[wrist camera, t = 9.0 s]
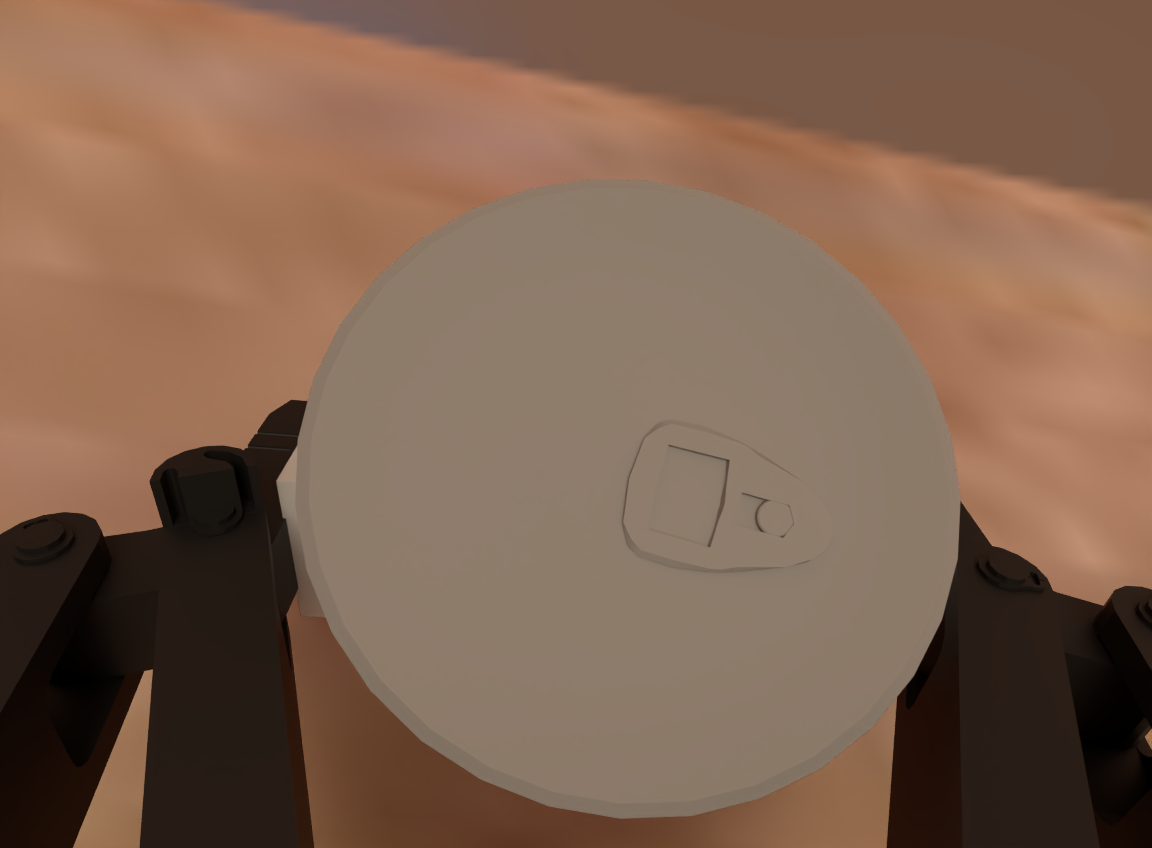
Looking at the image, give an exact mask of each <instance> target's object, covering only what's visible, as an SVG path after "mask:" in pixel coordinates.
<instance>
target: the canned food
mask: <svg viewBox="0 0 1152 848" xmlns="http://www.w3.org/2000/svg"><path fill="white" fill-rule="evenodd" d="M960 499H961V496H960V490H959V483H958V477H957V470H956V464H955V457H954V451H953V444H952V438H951V434H950V431H949V429H948V426H947V423H946V420H945V418H944V415H943V412H942V409H941V406H940V404H939V401H938V398H937V395H936V392H935V390H934V387H933V384H932V381H931V379H930V377H929V375H928V374H927V372H926V370H925V368H924V367H923V365H922V363H921V362H920V360H919V358H918V356H917V355H916V353H915V351H914V350H913V348H912V346H911V344H910V343H909V341H908V339H907V338H906V336H905V334H904V332H903V331H902V329H901V327H900V326H899V325H898V324H897V322H896V321H895V320H894V319H893V318H892V316H891V315H890V314H889V313H888V312H887V311H886V309H885V308H884V307H883V306H882V305H881V304H880V302H879V301H878V300H877V299H876V298H875V297H874V295H873V294H872V293H871V292H870V291H869V290H868V288H867V287H866V286H865V285H864V284H863V283H862V281H861V280H860V279H858V278H857V277H856V276H855V275H854V274H852V273H851V272H850V271H849V270H847V269H846V268H845V267H844V266H843V265H841V264H840V263H839V262H838V261H837V260H835V259H834V258H833V257H832V256H831V255H829V254H828V253H827V252H826V251H825V250H823V249H822V248H821V247H820V246H819V245H817V244H816V243H815V242H813V241H812V240H810V239H808V238H806V237H805V236H803V235H801V234H799V233H798V232H796V231H794V230H793V229H791V228H789V227H787V226H786V225H784V224H782V223H780V222H779V221H777V220H775V219H773V218H772V217H770V216H768V215H766V214H765V213H763V212H761V211H758V210H755V209H753V208H750V207H747V206H744V205H742V204H739V203H736V202H734V201H731V200H728V199H725V198H723V197H720V196H717V195H715V194H712V193H709V192H706V191H702V190H696V189H691V188H686V187H680V186H675V185H670V184H664V183H659V182H654V181H648V180H591V179H587V180H581V181H575V182H569V183H563V184H556V185H550V186H544V187H538V188H531V189H527V190H524V191H522V192H519V193H516V194H513V195H510V196H507V197H505V198H502V199H499V200H496V201H493V202H490V203H488V204H485V205H482V206H479V207H476V208H473V209H472V210H470V211H468V212H466V213H465V214H463V215H461V216H459V217H458V218H456V219H454V220H453V221H451V222H449V223H447V224H446V225H444V226H442V227H440V228H439V229H437V230H435V231H433V232H432V233H430V234H428V235H427V236H425V237H423V238H421V239H420V240H419V241H418V242H417V243H416V244H415V245H413V246H412V247H411V248H410V249H409V250H408V251H406V252H405V253H404V254H403V255H402V256H401V257H400V258H398V259H397V260H396V261H395V262H394V263H393V264H392V265H390V266H389V267H388V268H387V269H386V270H385V271H383V272H382V273H381V274H380V275H379V276H378V277H377V278H376V279H375V280H374V282H373V283H372V284H371V285H370V287H369V288H368V289H367V291H366V292H365V293H364V294H363V296H362V297H361V298H360V300H359V301H358V302H357V304H356V305H355V306H354V307H353V309H352V310H351V311H350V313H349V314H348V315H347V316H346V318H345V319H344V320H343V322H342V323H341V324H340V326H339V328H338V330H337V332H336V334H335V336H334V338H333V340H332V342H331V344H330V346H329V348H328V350H327V352H326V354H325V356H324V358H323V361H322V363H321V365H320V367H319V369H318V371H317V373H316V375H315V377H314V379H313V382H312V386H311V390H310V394H309V398H308V402H307V406H306V410H305V414H304V417H303V421H302V425H301V429H300V433H299V437H298V445H297V471H296V497H295V506H296V512H297V518H298V524H299V529H300V535H301V541H302V547H303V552H304V558H305V564H306V570H307V572H308V575H309V577H310V580H311V582H312V585H313V587H314V590H315V592H316V595H317V597H318V600H319V602H320V605H321V607H322V610H323V612H324V615H325V617H326V620H327V622H328V625H329V627H330V630H331V632H332V634H333V635H334V637H335V638H336V640H337V641H338V643H339V644H340V646H341V647H342V649H343V650H344V652H345V653H346V655H347V656H348V658H349V659H350V661H351V662H352V664H353V666H354V667H355V669H356V670H357V672H358V673H359V675H360V676H361V678H362V679H363V681H364V682H365V684H366V685H367V687H368V688H369V690H370V691H371V692H372V693H373V694H374V695H375V696H376V697H377V698H378V699H379V700H380V701H381V702H382V703H383V704H384V705H385V706H386V707H387V708H388V709H389V710H390V711H391V712H392V713H393V714H394V715H395V716H396V717H397V718H398V719H399V720H400V721H401V722H402V723H403V724H404V725H405V726H406V727H407V728H408V729H409V730H411V731H412V732H413V733H414V734H415V735H416V736H417V737H418V738H419V739H420V740H421V741H422V742H424V743H425V744H427V745H428V746H430V747H431V748H433V749H434V750H436V751H437V752H439V753H441V754H442V755H444V756H445V757H447V758H448V759H450V760H451V761H453V762H454V763H456V764H457V765H459V766H461V767H462V768H464V769H465V770H467V771H468V772H470V773H471V774H473V775H474V776H476V777H477V778H479V779H480V780H483V781H485V782H488V783H490V784H493V785H495V786H498V787H500V788H503V789H506V790H508V791H511V792H513V793H516V794H518V795H521V796H523V797H526V798H528V799H531V800H534V801H536V802H539V803H541V804H544V805H546V806H549V807H555V808H561V809H567V810H572V811H578V812H584V813H590V814H596V815H601V816H607V817H613V818H619V819H625V818H652V817H679V816H694V815H698V814H702V813H706V812H710V811H713V810H717V809H721V808H725V807H729V806H733V805H737V804H741V803H745V802H749V801H753V800H757V799H760V798H762V797H764V796H766V795H768V794H770V793H772V792H774V791H776V790H778V789H780V788H783V787H785V786H787V785H789V784H791V783H793V782H795V781H797V780H799V779H801V778H803V777H805V776H807V775H809V774H811V773H813V772H815V771H817V770H819V769H821V768H822V767H823V766H825V765H826V764H827V763H828V762H830V761H831V760H832V759H833V758H835V757H836V756H837V755H838V754H840V753H841V752H842V751H843V750H845V749H846V748H847V747H848V746H850V745H851V744H852V743H853V742H855V741H856V740H857V739H858V738H860V737H861V736H862V735H863V734H865V733H866V732H867V731H868V730H870V729H871V728H872V727H873V726H874V725H875V724H876V722H877V721H878V720H879V719H880V717H881V716H882V715H883V714H884V712H885V711H886V710H887V709H888V707H889V706H890V705H891V704H892V702H893V701H894V700H895V699H896V698H897V696H898V695H899V694H900V693H901V691H902V690H903V689H904V688H905V686H906V685H907V684H908V683H909V681H910V680H911V679H912V678H913V676H914V675H915V673H916V671H917V669H918V667H919V665H920V663H921V661H922V659H923V657H924V655H925V653H926V651H927V649H928V647H929V645H930V643H931V641H932V639H933V637H934V635H935V633H936V631H937V629H938V627H939V625H940V623H941V621H942V618H943V614H944V610H945V606H946V602H947V598H948V595H949V591H950V587H951V583H952V579H953V575H954V571H955V567H956V564H957V560H958V542H959V521H960Z"/></svg>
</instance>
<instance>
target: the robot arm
mask: <svg viewBox="0 0 1152 848" xmlns="http://www.w3.org/2000/svg"><path fill="white" fill-rule="evenodd" d="M307 402H308V401H299V400H290V401H289V402H287V403H286V404H284V405H283V406H281V407H279V408H278V409H276V410H275V411H273V412H272V413H270V414H269V415H268V417H267V418H266V420H265V421H264V422H263V424H262V425H261V427H260V428H259V430H258V433H257V434H255V435H254V437H253V438H252V440H251V441H250V442H249V444H248V448H245V450H244V451H243V450H242V449H239V448H234V447H229V446H204V447H200V448H196V449H192V450H188V451H184V452H182V453H180V454H178V455H176V456H174V457H171V458H169V459H167V460H166V461H165V462H164V463H163V464H161V465H160V466H159V467H158V468H157V469H155V471H154V473H153V475H152V477H151V479H150V485H151V488H152V492H153V495H154V498H155V501H156V505H157V508H158V511H159V515H160V518H161V521H162V524H163V527H162V528H157V529H152V530H147V531H141V532H134V533H127V534H120V535H113V536H106V537H104V536H103V533H102V531H101V529H100V527H99V525H98V523H97V521H96V520H95V519H93V518H91V517H89V516H87V515H84V514H79V513H68V512H63V513H56V514H49V515H43V516H40V517H37V518H34V519H31V520H28V521H25V522H22V523H20V524H18V525H16V526H14V527H13V528H11V529H9V530H7V531H5V532H4V533H2V534H1V535H0V848H73V846H74V843H75V841H76V838H77V836H78V833H79V831H80V828H81V826H82V823H83V821H84V818H85V816H86V814H87V811H88V809H89V806H90V804H91V801H92V799H93V796H94V794H95V791H96V789H97V786H98V784H99V781H100V779H101V776H102V774H103V772H104V769H105V767H106V764H107V762H108V759H109V757H110V754H111V752H112V749H113V747H114V744H115V742H116V739H117V737H118V735H119V732H120V730H121V727H122V725H123V722H124V720H125V717H126V715H127V712H128V710H129V707H130V705H131V702H132V700H133V698H134V695H135V693H136V690H137V688H138V685H139V683H140V680H141V678H142V675H143V673H144V671H146V670H151V669H153V677H152V690H151V703H150V717H149V730H148V743H147V756H146V770H145V783H144V796H143V810H142V823H141V836H140V848H314V842H313V833H312V824H311V816H310V807H309V798H308V789H307V781H306V772H305V763H304V754H303V746H302V737H301V728H300V719H299V710H298V702H297V693H296V684H295V675H294V667H293V658H292V649H291V640H290V632H289V626H288V621H287V616H286V614H287V612H288V610H289V607H290V605H291V603H292V601H293V599H294V597H295V594H296V593H297V598H298V604H299V609H300V615H301V616H308V617H323V618H326V617H325V615H324V612H323V610H322V607H321V605H320V602H319V600H318V597H317V595H316V592H315V590H314V587H313V585H312V582H311V580H310V577H309V575H308V572H307V570H306V564H305V558H304V552H303V547H302V541H301V535H300V529H299V524H298V518H297V512H296V506H295V497H296V471H297V445H298V437H299V433H300V429H301V425H302V421H303V417H304V414H305V410H306V406H307ZM1151 729H1152V590H1151V589H1148V588H1144V587H1136V586H1124V587H1122V588H1119V589H1116V590H1115V591H1114V592H1113V593H1112V595H1111V596H1110V598H1109V599H1108V600H1107V602H1106V603H1105V605H1104V606H1102V605H1098V604H1095V603H1092V602H1088V601H1085V600H1081V599H1078V598H1074V597H1071V596H1067V595H1064V594H1060V593H1057V592H1055V591H1053V590H1052V588H1051V585H1050V583H1049V581H1048V579H1047V578H1046V577H1045V576H1044V575H1043V574H1042V573H1041V571H1040V570H1039V569H1038V568H1037V567H1036V566H1034V565H1033V564H1031V563H1030V562H1028V561H1027V560H1025V559H1024V558H1022V557H1021V556H1019V555H1017V554H1014V553H1012V552H1010V551H1007V550H1005V549H1002V548H999V547H994V546H992V545H991V544H990V543H989V541H988V540H987V538H986V537H985V535H984V534H983V533H982V531H981V530H980V528H979V527H978V525H977V524H976V523H975V521H974V520H973V518H972V517H971V515H970V514H969V513H968V511H967V510H966V508H965V507H964V505H963V504H962V503H961V501H960V521H959V542H958V560H957V564H956V567H955V571H954V575H953V579H952V583H951V587H950V591H949V595H948V598H947V602H946V606H945V610H944V614H943V618H942V621H941V623H940V625H939V627H938V629H937V631H936V633H935V635H934V637H933V639H932V641H931V643H930V645H929V647H928V649H927V651H926V653H925V655H924V657H923V659H922V661H921V663H920V665H919V667H918V669H917V671H916V673H915V675H914V676H913V678H912V679H911V680H910V681H909V683H908V684H907V685H906V686H905V688H904V689H903V690H902V691H901V693H900V694H899V695H898V696H897V706H896V721H895V735H894V750H893V764H892V778H891V793H890V807H889V822H888V836H887V848H1152V749H1151V748H1150V746H1149V744H1148V742H1147V741H1146V739H1145V736H1146V735H1147V733H1148V732H1149V731H1150V730H1151Z"/></svg>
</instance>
